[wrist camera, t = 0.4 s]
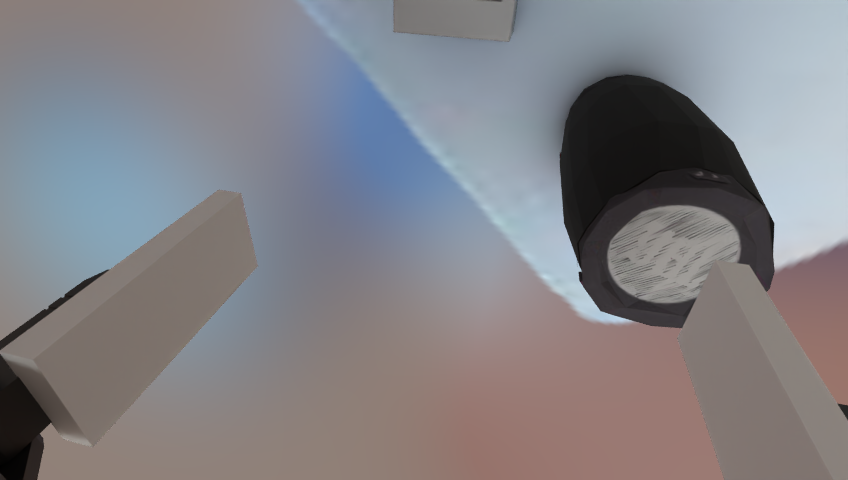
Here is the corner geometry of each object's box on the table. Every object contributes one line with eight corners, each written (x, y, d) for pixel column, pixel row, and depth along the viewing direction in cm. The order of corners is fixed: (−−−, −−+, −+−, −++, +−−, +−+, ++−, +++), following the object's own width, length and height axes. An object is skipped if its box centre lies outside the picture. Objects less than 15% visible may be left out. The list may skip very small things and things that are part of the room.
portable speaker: (548, 169, 38) (547, 323, 22) (578, 54, 33) (606, 147, 17) (651, 186, 37) (730, 364, 21) (700, 70, 32) (854, 187, 16)
